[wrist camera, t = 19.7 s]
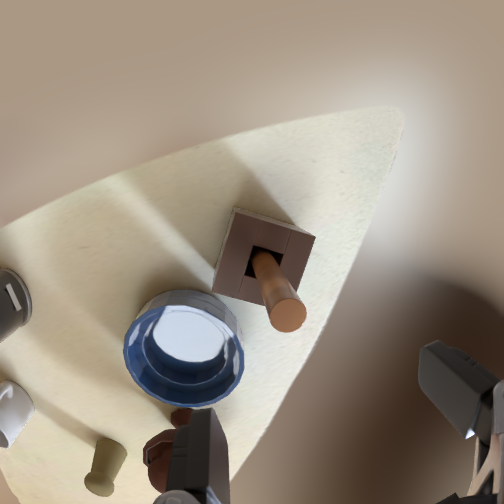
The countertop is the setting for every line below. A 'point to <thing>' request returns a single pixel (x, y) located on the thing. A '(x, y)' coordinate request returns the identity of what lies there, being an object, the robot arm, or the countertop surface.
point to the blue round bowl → (185, 349)
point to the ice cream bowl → (163, 450)
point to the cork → (105, 467)
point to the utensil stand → (265, 236)
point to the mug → (13, 411)
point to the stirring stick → (277, 292)
